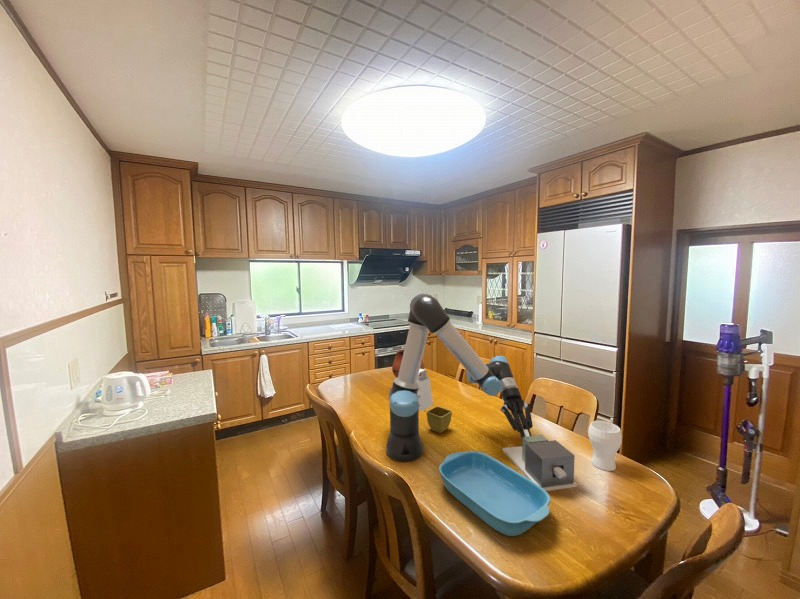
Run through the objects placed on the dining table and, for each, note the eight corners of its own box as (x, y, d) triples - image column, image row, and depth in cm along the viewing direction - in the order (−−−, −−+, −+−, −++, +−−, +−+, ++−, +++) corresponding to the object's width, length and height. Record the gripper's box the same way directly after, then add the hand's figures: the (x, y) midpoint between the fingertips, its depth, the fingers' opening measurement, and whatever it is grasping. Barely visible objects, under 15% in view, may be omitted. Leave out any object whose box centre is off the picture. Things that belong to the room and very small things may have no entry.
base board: (502, 450, 133) (502, 448, 132) (534, 447, 135) (534, 444, 135) (539, 491, 107) (539, 489, 107) (577, 486, 110) (577, 484, 110)
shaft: (522, 459, 123) (522, 436, 123) (541, 457, 125) (541, 434, 124) (551, 490, 106) (552, 464, 105) (573, 487, 107) (574, 461, 107)
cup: (621, 477, 115) (623, 436, 113) (586, 467, 120) (588, 428, 119) (619, 462, 124) (621, 424, 122) (587, 454, 129) (589, 417, 128)
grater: (406, 407, 177) (406, 371, 175) (417, 400, 185) (417, 366, 183) (423, 411, 170) (422, 374, 169) (433, 405, 179) (433, 369, 177)
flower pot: (452, 429, 151) (452, 410, 150) (441, 436, 144) (441, 417, 144) (437, 423, 157) (437, 405, 156) (425, 430, 150) (425, 411, 150)
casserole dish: (565, 521, 95) (566, 498, 95) (518, 560, 83) (519, 534, 82) (471, 461, 125) (472, 444, 125) (427, 483, 113) (426, 464, 112)
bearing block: (524, 469, 118) (525, 443, 117) (554, 466, 120) (555, 440, 119) (541, 487, 108) (542, 459, 107) (573, 483, 110) (574, 455, 109)
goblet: (430, 394, 194) (429, 353, 192) (401, 400, 186) (400, 357, 183) (414, 384, 211) (414, 347, 209) (387, 389, 203) (387, 350, 201)
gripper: (498, 387, 136) (518, 447, 121) (526, 385, 138) (550, 443, 123) (492, 395, 141) (511, 452, 127) (519, 392, 144) (541, 448, 129)
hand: (530, 447), depth 125 cm, fingers closed
